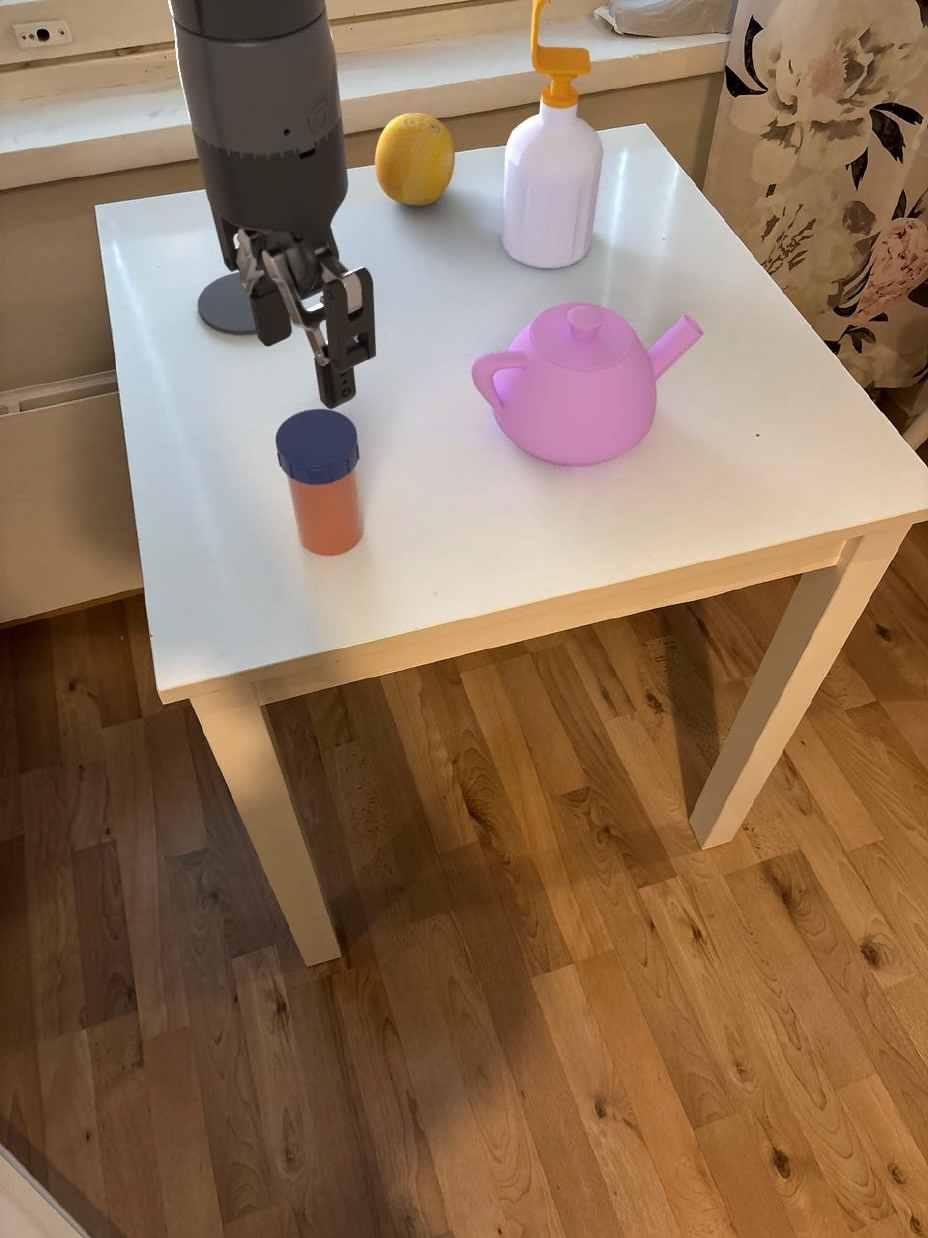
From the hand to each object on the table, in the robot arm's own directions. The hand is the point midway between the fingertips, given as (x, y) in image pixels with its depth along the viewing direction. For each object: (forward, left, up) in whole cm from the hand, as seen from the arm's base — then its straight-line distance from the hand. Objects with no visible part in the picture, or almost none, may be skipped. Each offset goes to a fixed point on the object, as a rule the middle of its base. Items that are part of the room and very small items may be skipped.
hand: (306, 369), depth 61 cm
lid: (0, 0, -6) cm, 6 cm away
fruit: (+12, +45, -16) cm, 49 cm away
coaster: (-6, +29, -16) cm, 34 cm away
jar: (0, 0, -16) cm, 16 cm away
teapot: (+22, +10, -16) cm, 29 cm away
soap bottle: (+24, +35, -16) cm, 46 cm away
